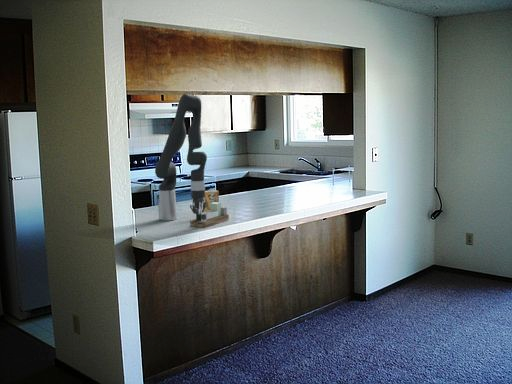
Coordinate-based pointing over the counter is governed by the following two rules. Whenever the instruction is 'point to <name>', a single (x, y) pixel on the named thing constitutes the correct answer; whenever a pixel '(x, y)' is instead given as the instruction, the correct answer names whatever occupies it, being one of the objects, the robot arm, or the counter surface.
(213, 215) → the jaw
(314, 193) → the counter surface
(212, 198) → the candy box
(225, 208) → the channel
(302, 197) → the counter surface
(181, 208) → the counter surface
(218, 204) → the block
